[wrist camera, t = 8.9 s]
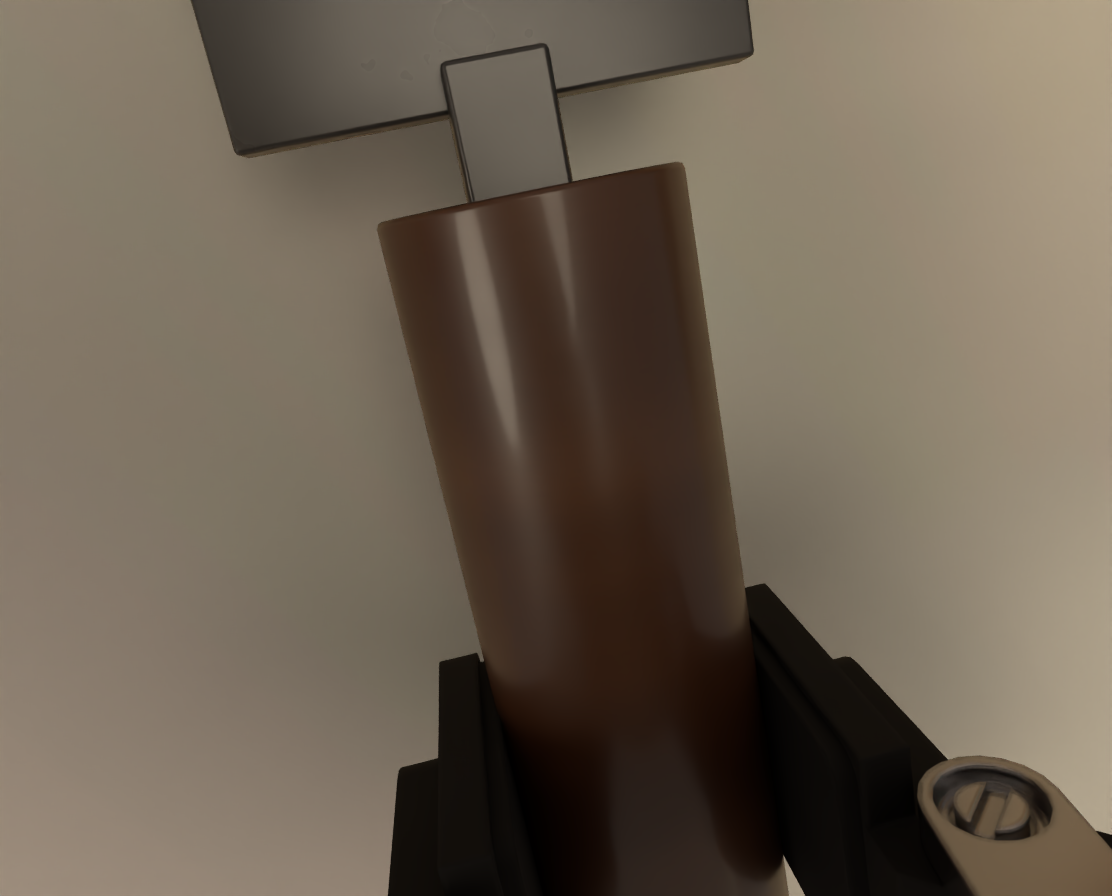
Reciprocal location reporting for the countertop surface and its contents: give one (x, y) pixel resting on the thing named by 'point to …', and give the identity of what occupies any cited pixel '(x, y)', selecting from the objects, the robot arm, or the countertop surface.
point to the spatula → (558, 409)
